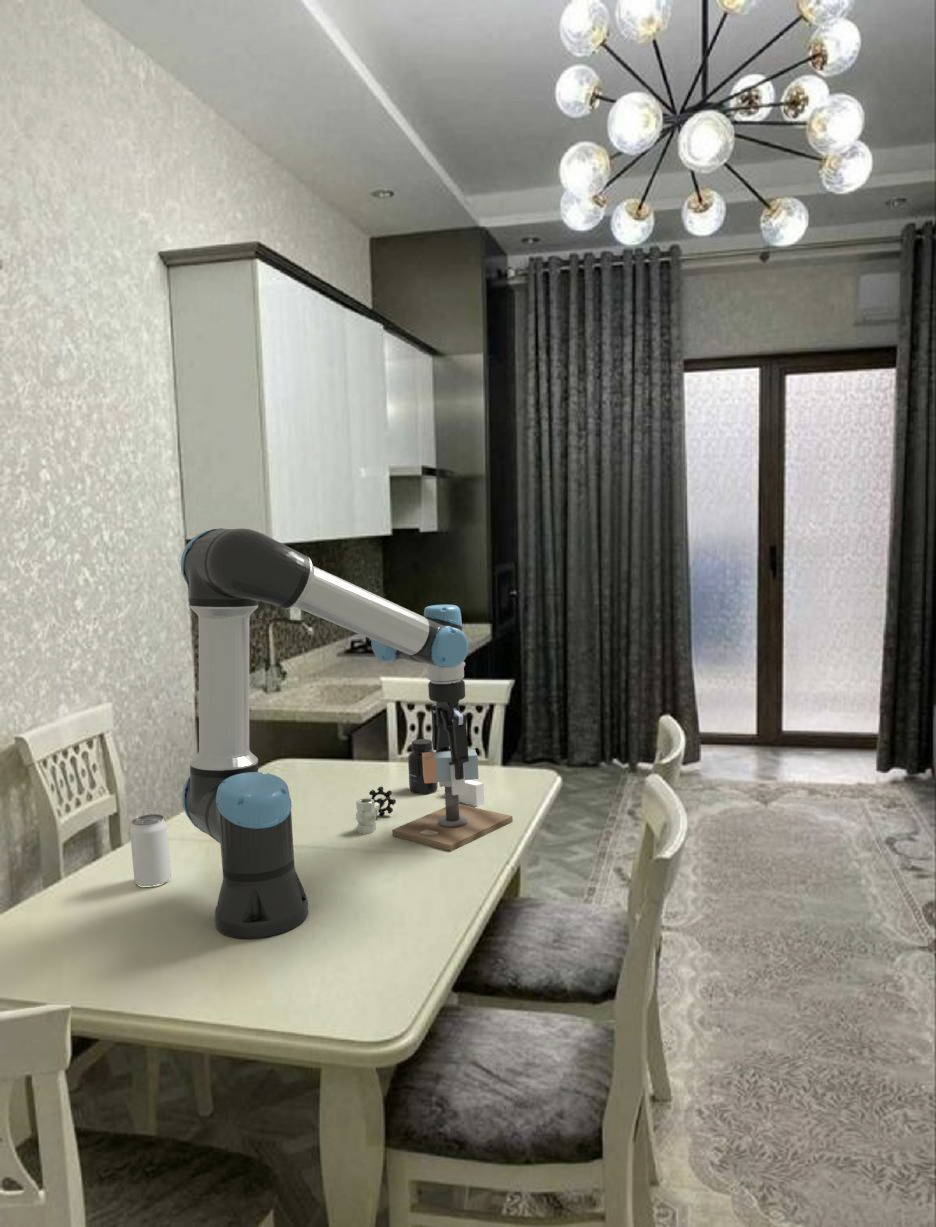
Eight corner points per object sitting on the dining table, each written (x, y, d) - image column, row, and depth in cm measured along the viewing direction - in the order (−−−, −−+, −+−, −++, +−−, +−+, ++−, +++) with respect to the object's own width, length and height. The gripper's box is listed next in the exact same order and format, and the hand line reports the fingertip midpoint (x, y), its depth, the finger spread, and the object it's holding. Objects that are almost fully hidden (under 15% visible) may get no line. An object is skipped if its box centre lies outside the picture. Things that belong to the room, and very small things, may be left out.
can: (178, 875, 172) (173, 814, 170) (158, 890, 166) (152, 826, 164) (148, 873, 173) (143, 812, 172) (127, 887, 167) (121, 824, 166)
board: (451, 851, 178) (448, 805, 177) (392, 835, 188) (389, 792, 187) (512, 821, 193) (510, 779, 192) (455, 808, 203) (453, 768, 202)
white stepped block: (494, 809, 203) (493, 784, 202) (443, 813, 202) (442, 788, 201) (485, 789, 218) (484, 765, 217) (438, 792, 217) (437, 769, 216)
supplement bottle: (405, 794, 215) (402, 744, 214) (415, 785, 222) (412, 737, 220) (432, 795, 213) (430, 745, 212) (442, 786, 220) (439, 738, 218)
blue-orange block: (478, 785, 188) (477, 755, 187) (425, 789, 186) (423, 759, 186) (476, 778, 192) (474, 749, 192) (423, 782, 191) (422, 752, 191)
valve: (378, 835, 189) (396, 816, 200) (376, 804, 188) (395, 786, 200) (348, 834, 190) (368, 814, 202) (346, 803, 190) (366, 785, 201)
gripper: (482, 685, 180) (487, 798, 182) (445, 671, 197) (450, 775, 200) (447, 690, 177) (453, 805, 179) (412, 675, 194) (419, 781, 197)
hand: (452, 789), depth 190 cm, fingers closed on blue-orange block, 6 cm apart
